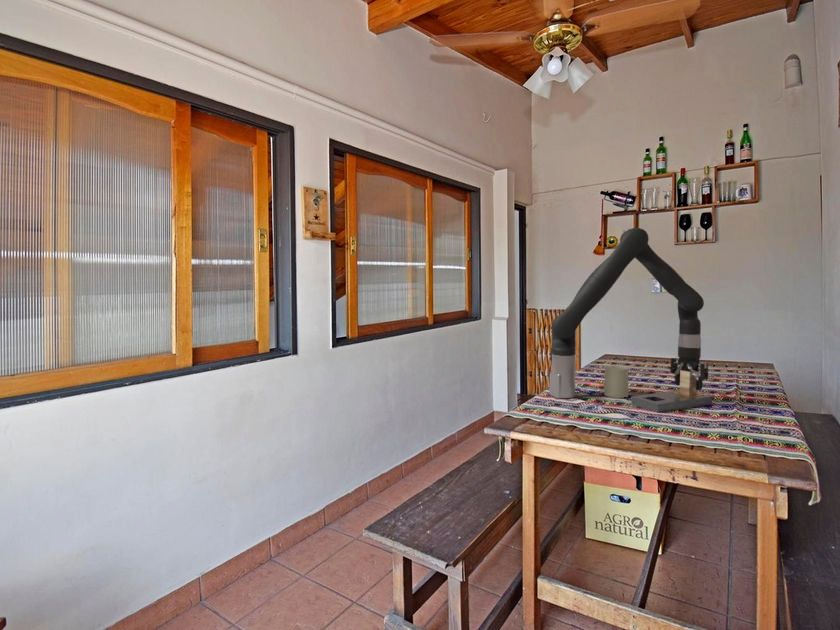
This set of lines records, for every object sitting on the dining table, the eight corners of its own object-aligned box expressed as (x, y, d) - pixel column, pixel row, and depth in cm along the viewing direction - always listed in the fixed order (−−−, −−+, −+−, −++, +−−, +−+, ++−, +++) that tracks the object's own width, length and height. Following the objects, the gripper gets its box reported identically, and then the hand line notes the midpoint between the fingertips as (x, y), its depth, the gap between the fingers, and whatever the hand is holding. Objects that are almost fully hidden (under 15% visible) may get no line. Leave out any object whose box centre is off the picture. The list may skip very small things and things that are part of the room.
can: (623, 392, 193) (624, 364, 192) (631, 398, 184) (632, 368, 183) (601, 392, 194) (601, 364, 193) (607, 398, 185) (608, 368, 184)
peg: (688, 403, 174) (689, 372, 173) (679, 401, 178) (680, 370, 177) (696, 402, 176) (697, 371, 175) (686, 400, 179) (687, 369, 179)
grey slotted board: (657, 412, 164) (657, 403, 163) (631, 404, 175) (631, 396, 175) (711, 404, 173) (712, 395, 173) (683, 396, 184) (683, 388, 184)
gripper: (666, 343, 181) (665, 384, 182) (699, 348, 167) (698, 392, 169) (680, 342, 183) (679, 382, 184) (714, 347, 170) (712, 390, 171)
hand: (688, 387), depth 176 cm, fingers open, 8 cm apart
